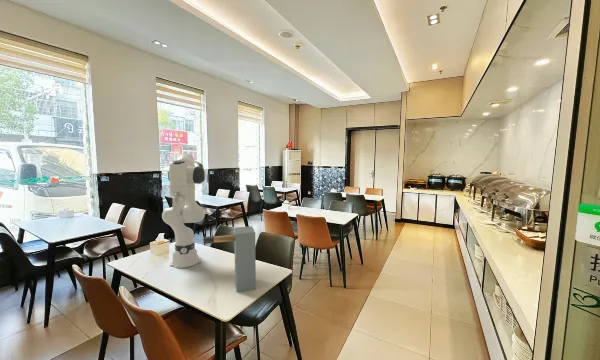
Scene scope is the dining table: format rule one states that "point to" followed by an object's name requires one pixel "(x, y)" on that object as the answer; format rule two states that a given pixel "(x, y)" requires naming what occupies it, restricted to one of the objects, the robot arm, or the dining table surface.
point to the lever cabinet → (245, 259)
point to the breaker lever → (218, 239)
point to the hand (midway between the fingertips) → (179, 217)
